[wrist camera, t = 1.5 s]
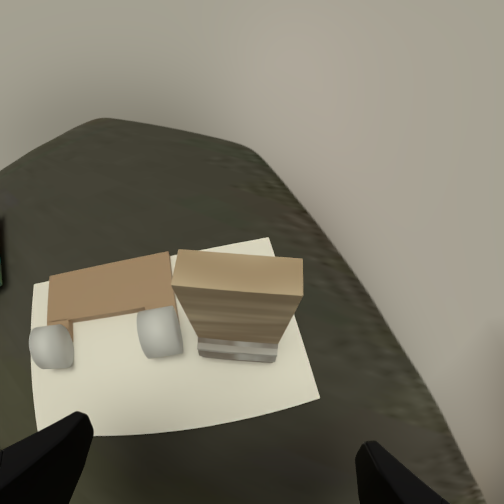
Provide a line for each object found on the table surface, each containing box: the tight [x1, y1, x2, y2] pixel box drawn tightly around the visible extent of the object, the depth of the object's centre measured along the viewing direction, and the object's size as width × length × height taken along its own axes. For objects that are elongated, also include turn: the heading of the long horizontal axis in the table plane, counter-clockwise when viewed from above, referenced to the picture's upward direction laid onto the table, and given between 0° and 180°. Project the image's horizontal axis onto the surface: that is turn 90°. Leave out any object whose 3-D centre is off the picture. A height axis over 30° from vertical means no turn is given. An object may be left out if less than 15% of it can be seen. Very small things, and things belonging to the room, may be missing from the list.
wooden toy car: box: [171, 249, 303, 363], centre depth 16 cm, size 3×5×11 cm
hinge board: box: [29, 237, 320, 436], centre depth 19 cm, size 14×23×4 cm, turn 104°
